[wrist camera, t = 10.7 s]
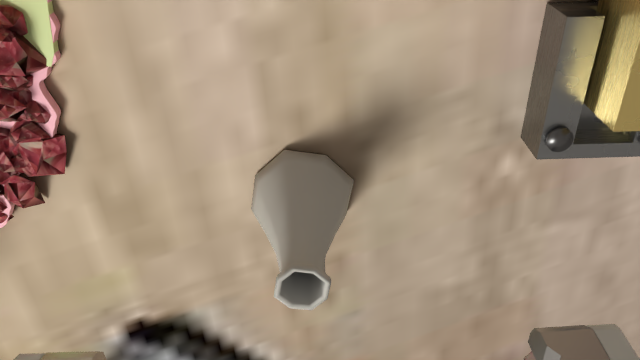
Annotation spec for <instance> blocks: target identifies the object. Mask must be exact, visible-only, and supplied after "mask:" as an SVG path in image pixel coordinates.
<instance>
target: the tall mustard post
mask: <svg viewBox="0 0 640 360" xmlns="http://www.w3.org/2000/svg"><path fill="white" fill-rule="evenodd" d="M597 12H599V13H601V14H602V15H604V16H605V19H604V23H603V27H602V31H601V35H600V39H599V43H598V47H597V51H596V55H595V59H594V63H593V67H592V71H591V75H590V79H589V83H588V87H587V90H586V94H585V98H584V102H583V103H584V104H585V105H586V106H587V107H588V108H589V109H590V110H591V111H592V112H593V113H594V114H595V115H596V116H597V117H598V118H599V119H600V120H601V121H602V122H603V123H604V124H606V125H607V126H608V127H609V128H610V129H611V130H612V131H613V132H626V131H640V0H599V3H598V7H597Z"/></svg>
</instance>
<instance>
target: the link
mask: <svg viewBox="0 0 640 360" xmlns="http://www.w3.org/2000/svg"><path fill="white" fill-rule="evenodd" d="M598 3H599V2H563V3H547V5H546V11H545V16H544V21H543V26H542V31H541V36H540V41H539V47H538V52H537V57H536V62H535V67H534V72H533V77H532V82H531V88H530V93H529V98H528V103H527V108H526V113H525V118H524V124H523V129H522V134H521V138H522V140H523V141H524V142H525V144H526V145H527V147H528V148H529V149H530V151H531V152H532V154H533V155H534V156H535V158H536V159H565V158H599V157H633V156H640V131H626V132H613V131H612V130H611V129H610V128H609V127H608V126H607V125H606V124H604V123H603V122H602V121H601V120H600V119H599V118H598V117H597V116H596V115H595V114H594V113H593V112H592V111H591V110H590V109H589V108H588V107H587V106H586V105H585V104H584V103H583V102H584V98H585V94H586V90H587V87H588V83H589V79H590V75H591V71H592V67H593V63H594V59H595V55H596V51H597V47H598V43H599V39H600V35H601V31H602V27H603V23H604V19H605V16H604V15H602V14H601V13H599V12H597V7H598Z"/></svg>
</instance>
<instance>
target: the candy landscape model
mask: <svg viewBox="0 0 640 360" xmlns="http://www.w3.org/2000/svg"><path fill="white" fill-rule="evenodd" d="M59 29H60V23H59V20H58V18H57V17H56V15H55V13H54V11H53V4H52V0H0V228H1V227H4V226H5V225H6V224H7V222H8V221H9V220H10V219H11V218H13V217H14V216H13V215H12V213H13V211H14V206H15V204H16V205H18V206H20V207H22V208H26V207H30V206H34V205H38V204H42V203H45V201H44V199H43V197H42V195H41V193H40V191H39V189H38V187H37V185H36V184H35V182H33V181H31V180H29V179H26V178H24V177H22V176H20V174H21V173H25V174H26V175H27V176H28V177H32V176H44V175H56V174H65V164H66V154H67V150H66V142H65V135H60V134H56V133H57V127H58V124H59V117H60V115H61V110H60V108H59V106H58V104H57V103H56V102H55V100H54V99H53V97H52V96H51V94H50V93H49V92H48V90H47V88H46V86H45V84H44V79H45V78H46V77H47V76H48V75H50V73H51V71H52V66H54V65H55V63H56V62H57V61H58V60H59V59H60V57H61V54H60V51H59V48H58V41H57V40H58V34H59Z"/></svg>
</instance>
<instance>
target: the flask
mask: <svg viewBox="0 0 640 360" xmlns="http://www.w3.org/2000/svg"><path fill="white" fill-rule="evenodd" d="M353 183H354V180H353V179H352V178H351V177H350V176H349V175H348V174H346V173H345V172H344V171H343V170H342V169H341V168H340V167H339V166H338V165H336V164H335V163H334V162H333V161H332V160H331V159H330V158H329V157H328V156H326V155H322V154H314V153H306V152H298V151H290V150H283V151H282V152H281V153H280V154H279V155H278V156H276V157H275V158H274V159H273V160H272V161H271V162H270V163H269V164H267V165H266V166H265V167H264V168H263V169H262V170H261V171H259V172H258V173H257V174H256V175H255V182H254V190H253V198H252V207H251V209H252V211H253V213H254V215H255V217H256V218H257V220H258V222H259V223H260V225H261V227H262V228H263V230H264V232H265V234H266V236H267V237H268V239H269V241H270V243H271V245H272V247H273V249H274V251H275V253H276V257H277V261H278V265H279V270H280V273H279V274H278V275H277V278H276V285H275V291H274V297H275V298H276V299H278V300H279V301H281V302H282V303H283V304H285V305H286V306H288V307H289V308H293V309H304V310H313V309H314V308H315V307H317V306H318V305H319V304H321V303H322V302H324V301H325V300H326V299H327V298H328V294H329V289H330V285H331V278H330V277H329V276H328V275H327V274H326V273H325V257H326V253H327V251H328V249H329V247H330V245H331V243H332V241H333V238H334V236H335V234H336V232H337V231H338V229H339V227H340V225H341V223H342V222H343V220H344V218H345V215H346V213H347V209H348V205H349V200H350V196H351V192H352V187H353Z"/></svg>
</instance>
